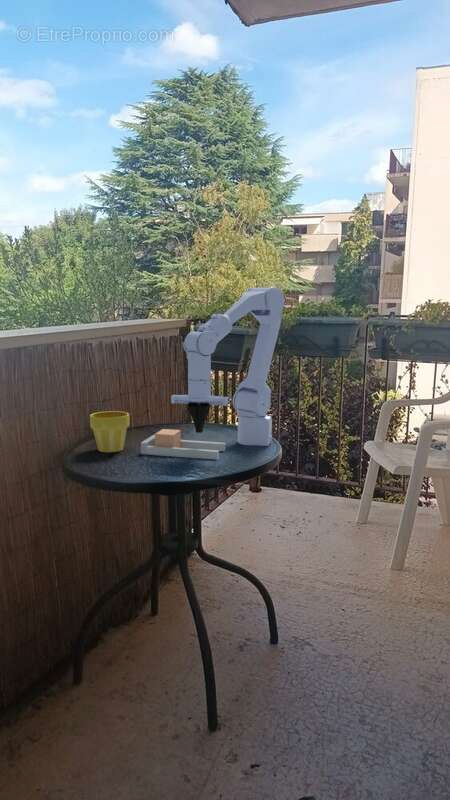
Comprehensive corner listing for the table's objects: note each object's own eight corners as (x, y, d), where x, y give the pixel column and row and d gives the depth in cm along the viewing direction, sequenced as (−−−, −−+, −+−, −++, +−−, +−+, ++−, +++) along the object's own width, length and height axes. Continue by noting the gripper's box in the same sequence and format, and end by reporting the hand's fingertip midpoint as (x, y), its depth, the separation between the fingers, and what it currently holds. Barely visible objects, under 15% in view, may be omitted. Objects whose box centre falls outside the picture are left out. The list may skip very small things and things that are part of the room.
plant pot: (88, 446, 147) (87, 411, 145) (125, 443, 151) (125, 409, 149) (93, 456, 137) (92, 418, 136) (133, 452, 141) (132, 416, 139)
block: (180, 448, 142) (180, 430, 141) (173, 454, 136) (173, 435, 135) (162, 447, 143) (162, 428, 142) (155, 452, 137) (155, 433, 136)
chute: (227, 451, 143) (227, 437, 143) (215, 466, 130) (215, 450, 129) (156, 446, 147) (156, 432, 147) (137, 460, 134) (137, 444, 133)
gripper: (167, 380, 132) (167, 433, 134) (224, 382, 129) (223, 437, 131) (175, 376, 139) (175, 427, 141) (229, 378, 136) (229, 430, 138)
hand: (199, 431), depth 137 cm, fingers closed
